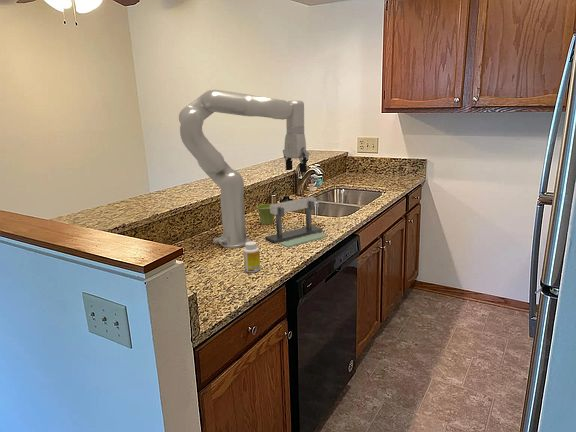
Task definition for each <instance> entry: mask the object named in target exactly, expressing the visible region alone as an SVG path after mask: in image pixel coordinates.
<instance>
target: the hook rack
mask: <svg viewBox="0 0 576 432" xmlns="http://www.w3.org/2000/svg"><path fill="white" fill-rule="evenodd" d="M314 210H315V206H314V202H313V201H312V202H310V207H308V208H305V226H303V227H300V228H296V229H292V230H289V231H284V232H283V227H282V226H283V223H282V217H285V213H284V208H280V214H276V215H275V226H276V234H272V235H268V236H265V237H264V238H265V241H267V242H268V243H271V244H274V245H276V244H280V243H282V242H286V241H290V240H294V239H298V238H302V237H305V236H309V235H313V234H317V233H323V228H322V227H319V226H317V225H314V224H312V211H314Z"/></svg>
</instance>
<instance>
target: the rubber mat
mask: <svg viewBox="0 0 576 432" xmlns="http://www.w3.org/2000/svg"><path fill="white" fill-rule="evenodd" d="M321 238H322V239H325V238H328V235H327V234H325V233H322V232H319V233H315V234H311V235H308V236H304V237H300V238H296V239H292V240H288V241H285V242H281V243H279V245H281V246H283V247H285V248H292V247H295V246H299V245H303V244H307V243H310V241H311V242H313V241H317V240H321Z"/></svg>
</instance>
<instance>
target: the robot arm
mask: <svg viewBox="0 0 576 432" xmlns="http://www.w3.org/2000/svg"><path fill="white" fill-rule="evenodd" d="M214 113H220V114H227V115H234V116H242V117H260V118H268V119H273V120H283V121H284V120H286V121H285V122H286V125H285V126H286V134H285V137H284V145H283V146H284V149H282V154H283V157H284V161H285V170H286V171H292V170H293V159H298V161H299V162H300V163H299V174H303V173H307V163H308V161H309V157H310V154H311V153H310V152H309V151H307V142H306V135H305V134H306V133H305V103H304V102H303V100H288V101H287V100H284V99H278V98H277V99H276V98H272V97H271V98H270V97H265V96H257V95H253V94H247V93H242V92H233V91H228V90H221V89H209V90H207V91H205V92H203V93H202V94H201V95H200V96H198V97H197V98H196V99H194V100H193V101H191V102H190V103H189V104H188V105H186V106H184V107H183V108H182V109H181V110H180V112H179V114H178V121H179V124H180V125H179V134H180V139H181V142H182V143H183V144H182V145H184V147H185V148H186V149H187V151H188V152H189V153H190V154H191V155H192V156H193V158H194V159H195V160H196V161H197V165H198V166H199V167H200V168H201V170H202V171H203V172H204V173H205V175H207V176H208V177H209V179H210V180H211V181H212V182H213V183H215V185H216V186H217V187H219V188H220V211H221V212H220V213H221V222H222V232H223V233H221V234H220V236H219V237H215V238H213V239H212V242H213V244H216V243H219V244H220V246H221V247H224V248H228V249H237V248H243V247H245V243H246V242H250V241H251V239H250V238H249V237H247V231H246V230H247V229H246V217H245V216H246V214H245V199H244V197H245V196H244V194H245V193H244V192H245V191H244V190H245V183H244V178H243V176H242V174H241V173H240V172H238V171H237V170H235V169H233V168H232V167H231V166H230V165H229V164H228V163H227V161H225V158H224V156H223V155H222V153H221V152H220V151H219V150H218V149H217V148H216V147H215V146H214V145H213V144H212V143H211V142H210V141H209V139H208V138H207V137H206V135H205V134H204V131H203V125H204V121H205V120H206V119H207V118H209V117H210V116H212V115H213V114H214Z"/></svg>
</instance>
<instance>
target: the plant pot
mask: <svg viewBox="0 0 576 432" xmlns="http://www.w3.org/2000/svg"><path fill="white" fill-rule="evenodd" d="M272 204H273V203H263V204H259V205H257V206H256V208H257V211H258V214H259V220H260V224H262V225H264V226H269V225H273V224H274V222H275V215H274V214H271V213H270V205H272Z"/></svg>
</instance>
